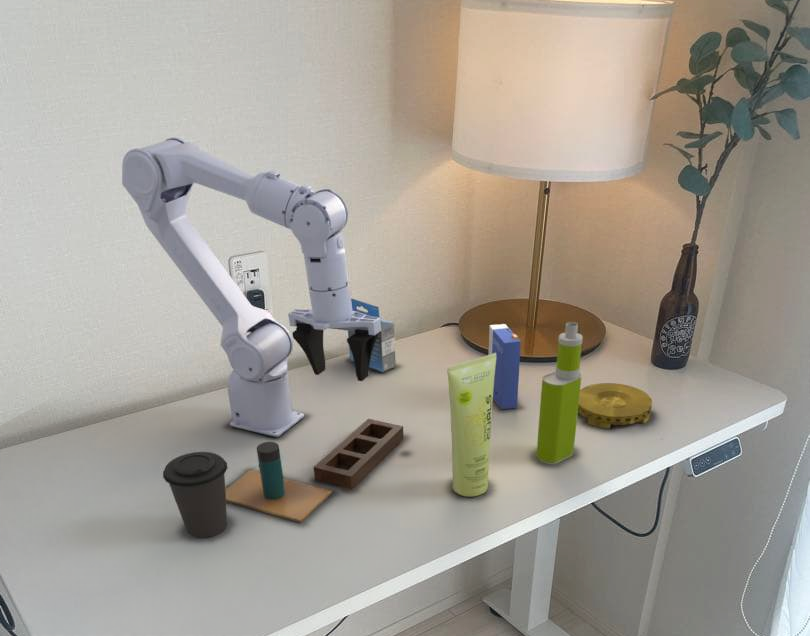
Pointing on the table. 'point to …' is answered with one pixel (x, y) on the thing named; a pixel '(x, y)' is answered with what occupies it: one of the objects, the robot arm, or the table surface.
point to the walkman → (505, 365)
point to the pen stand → (356, 461)
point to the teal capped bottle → (271, 470)
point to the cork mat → (290, 506)
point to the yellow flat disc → (614, 404)
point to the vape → (560, 400)
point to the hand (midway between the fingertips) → (341, 375)
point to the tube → (471, 423)
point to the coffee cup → (199, 492)
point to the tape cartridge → (378, 340)
